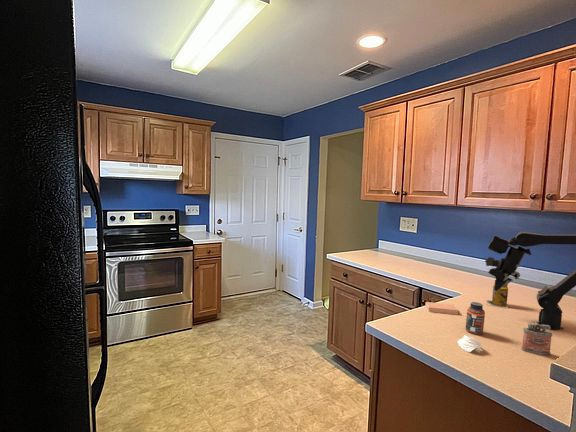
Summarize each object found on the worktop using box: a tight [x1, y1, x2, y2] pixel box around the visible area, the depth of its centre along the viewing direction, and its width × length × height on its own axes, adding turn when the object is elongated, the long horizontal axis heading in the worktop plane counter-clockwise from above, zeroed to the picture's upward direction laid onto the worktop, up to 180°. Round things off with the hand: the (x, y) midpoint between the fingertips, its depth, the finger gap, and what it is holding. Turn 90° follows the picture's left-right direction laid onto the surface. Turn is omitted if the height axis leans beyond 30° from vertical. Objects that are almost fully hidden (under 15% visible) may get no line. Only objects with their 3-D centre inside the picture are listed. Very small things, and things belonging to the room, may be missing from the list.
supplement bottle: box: [465, 301, 486, 335], centre depth 123 cm, size 6×6×11 cm
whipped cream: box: [457, 334, 483, 353], centre depth 110 cm, size 8×7×5 cm
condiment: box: [486, 279, 509, 309], centre depth 154 cm, size 7×8×12 cm
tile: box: [425, 301, 459, 316], centre depth 145 cm, size 2×7×12 cm
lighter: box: [520, 322, 553, 357], centre depth 108 cm, size 8×3×10 cm, turn 69°
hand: (495, 290), depth 140 cm, fingers closed
